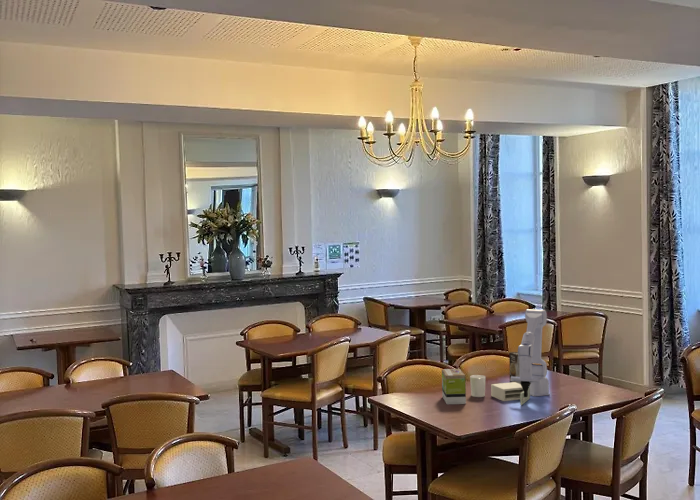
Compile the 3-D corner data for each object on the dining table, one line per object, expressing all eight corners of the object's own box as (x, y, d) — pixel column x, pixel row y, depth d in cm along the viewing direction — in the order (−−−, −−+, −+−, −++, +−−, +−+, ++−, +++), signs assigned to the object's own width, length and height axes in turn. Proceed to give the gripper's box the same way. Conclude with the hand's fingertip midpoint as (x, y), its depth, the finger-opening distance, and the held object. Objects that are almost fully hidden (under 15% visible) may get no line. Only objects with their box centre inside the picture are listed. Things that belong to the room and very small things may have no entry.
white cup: (485, 397, 347) (485, 378, 347) (470, 397, 349) (469, 377, 348) (485, 394, 355) (485, 375, 354) (470, 393, 356) (470, 374, 356)
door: (528, 398, 344) (528, 387, 344) (532, 398, 343) (531, 387, 343) (520, 404, 331) (520, 393, 331) (524, 405, 330) (524, 394, 330)
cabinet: (514, 393, 355) (514, 382, 355) (527, 398, 344) (527, 386, 344) (491, 395, 351) (491, 384, 351) (503, 401, 340) (503, 389, 340)
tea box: (441, 397, 350) (441, 368, 350) (461, 396, 350) (460, 368, 350) (446, 404, 335) (445, 374, 335) (466, 404, 335) (466, 374, 335)
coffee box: (509, 380, 385) (508, 352, 384) (519, 379, 386) (519, 351, 386) (516, 384, 376) (516, 355, 376) (527, 383, 378) (527, 354, 377)
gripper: (508, 369, 334) (508, 396, 334) (538, 372, 327) (538, 400, 327) (512, 366, 340) (512, 393, 341) (542, 369, 333) (542, 396, 333)
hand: (525, 396), depth 334 cm, fingers closed
